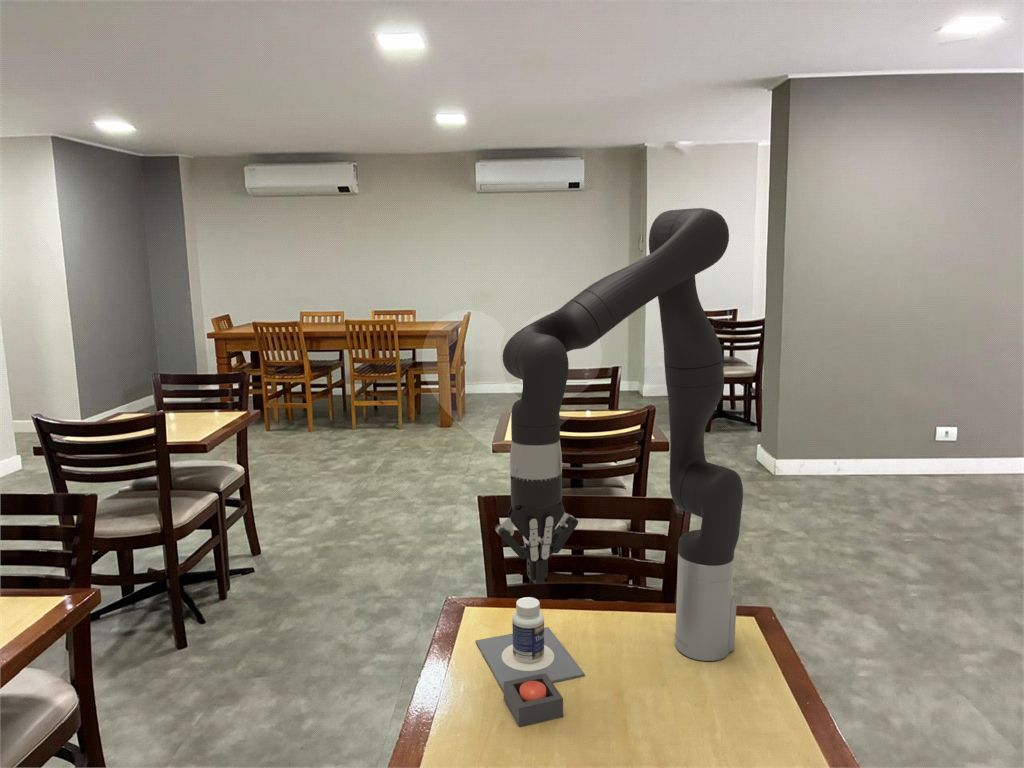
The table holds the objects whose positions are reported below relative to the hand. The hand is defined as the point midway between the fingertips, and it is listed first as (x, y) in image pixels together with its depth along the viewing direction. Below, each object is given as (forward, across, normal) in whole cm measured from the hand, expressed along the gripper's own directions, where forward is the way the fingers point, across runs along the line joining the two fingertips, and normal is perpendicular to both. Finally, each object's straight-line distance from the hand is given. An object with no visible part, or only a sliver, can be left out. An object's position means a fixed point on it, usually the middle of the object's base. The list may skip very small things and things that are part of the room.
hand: (537, 580), depth 105 cm
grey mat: (+20, -3, -12) cm, 23 cm away
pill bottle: (+20, -3, -12) cm, 23 cm away
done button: (+19, +1, +1) cm, 19 cm away
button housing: (+20, +2, +1) cm, 20 cm away
